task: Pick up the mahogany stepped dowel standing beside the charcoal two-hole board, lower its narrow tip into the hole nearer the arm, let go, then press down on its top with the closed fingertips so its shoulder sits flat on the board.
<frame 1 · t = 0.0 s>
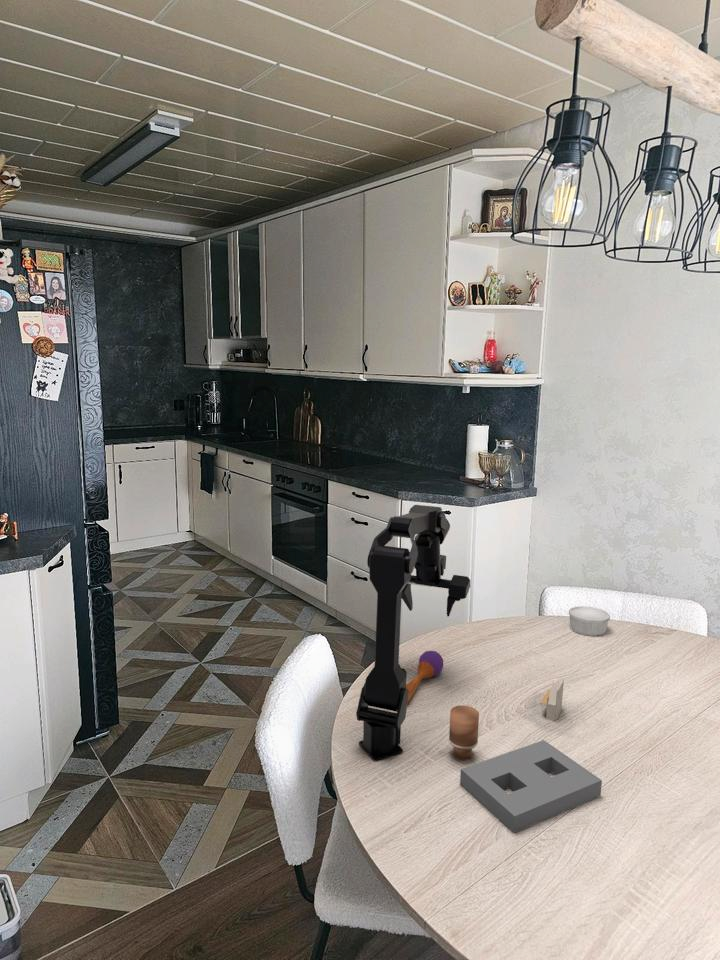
hand: (429, 612, 157), 15 cm above the table, tool pointing down, fingers open, 9 cm apart
ramekin: (587, 630, 188), on the table
mahogany dowel: (462, 754, 126), on the table
charcoal board: (529, 789, 116), on the table
architectural model: (553, 717, 142), on the table
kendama: (419, 687, 153), on the table
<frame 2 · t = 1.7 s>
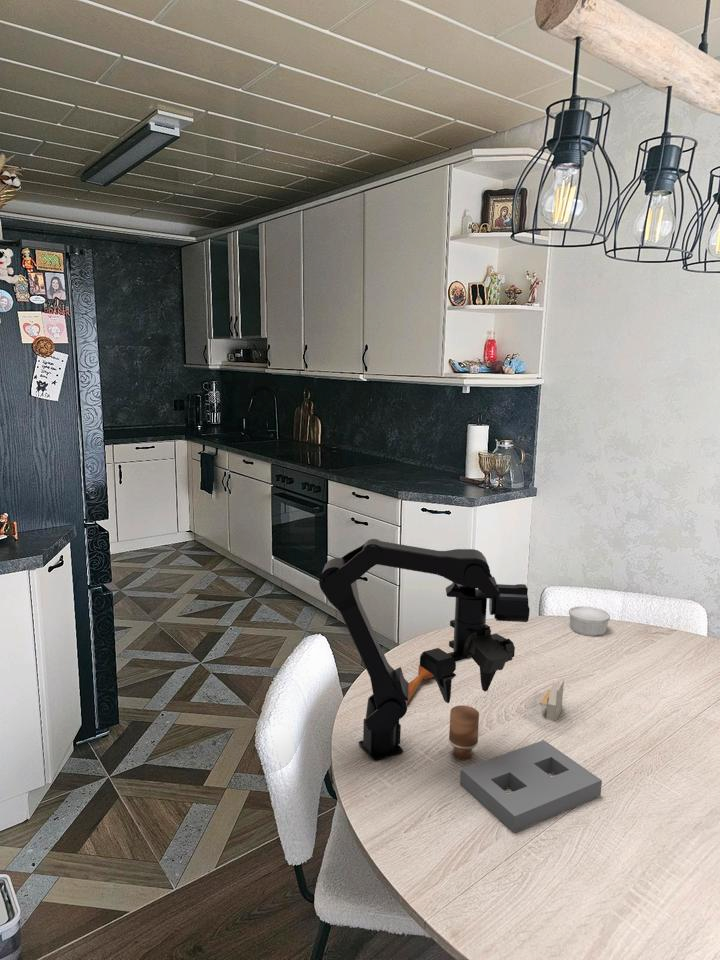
hand: (466, 696, 125), 12 cm above the table, tool pointing down, fingers open, 9 cm apart
nothing on the table moved.
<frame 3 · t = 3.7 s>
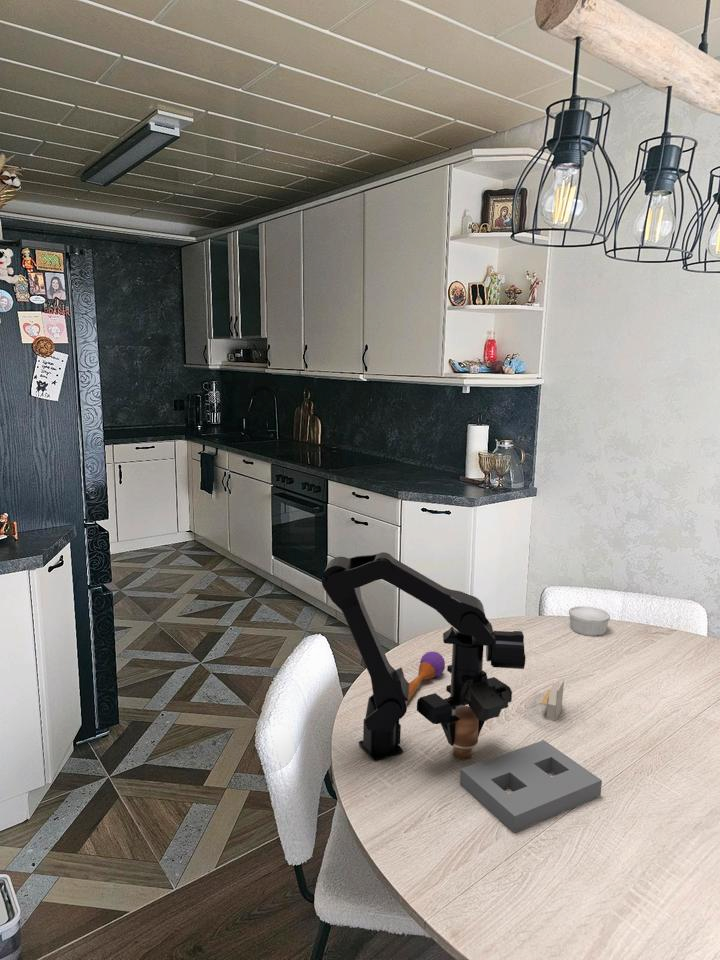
hand: (463, 740, 126), 3 cm above the table, tool pointing down, fingers closed on mahogany dowel, 5 cm apart
mahogany dowel: (462, 754, 126), on the table, touching gripper
everything else where it was.
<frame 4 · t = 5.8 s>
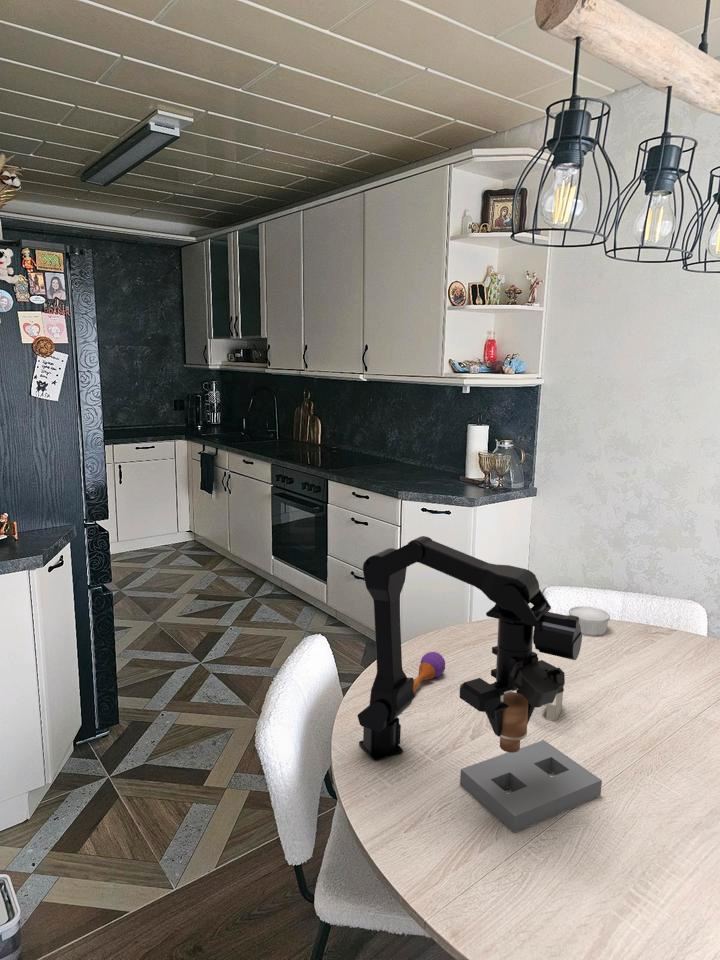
hand: (510, 730, 112), 12 cm above the table, tool pointing down, fingers closed on mahogany dowel, 5 cm apart
mahogany dowel: (509, 746, 113), point 9 cm above the table, touching gripper
everything else where it was.
when the fingers open (5 cm above the table, at t = 8.1 s): mahogany dowel drops 1 cm, resting on charcoal board.
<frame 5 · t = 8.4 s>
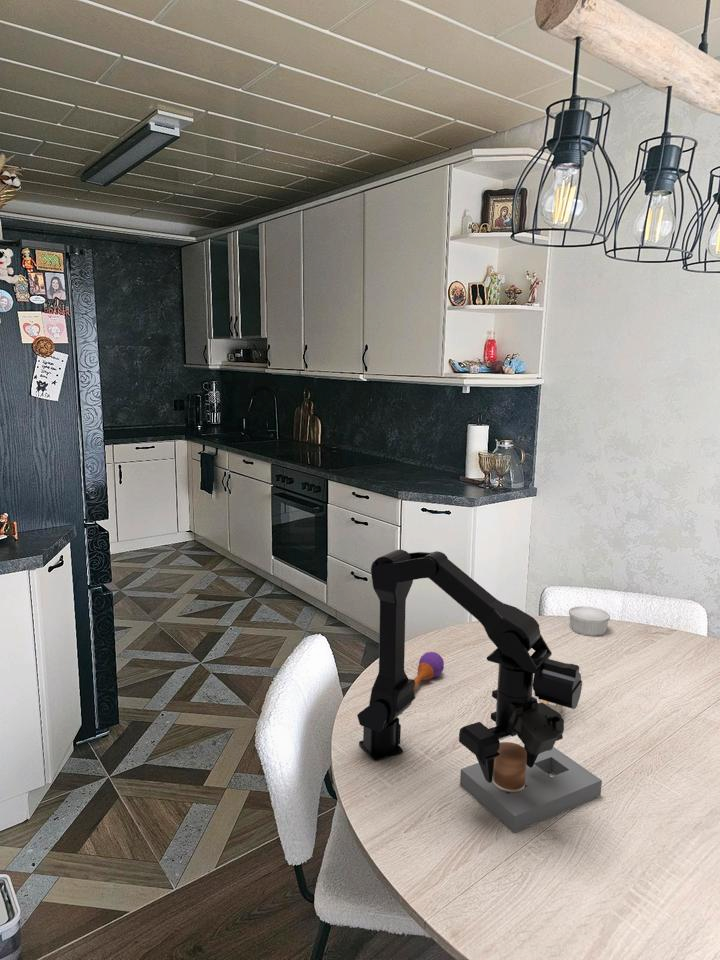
hand: (509, 773, 113), 5 cm above the table, tool pointing down, fingers open, 9 cm apart
mahogany dowel: (507, 797, 114), resting on charcoal board
everything else where it was.
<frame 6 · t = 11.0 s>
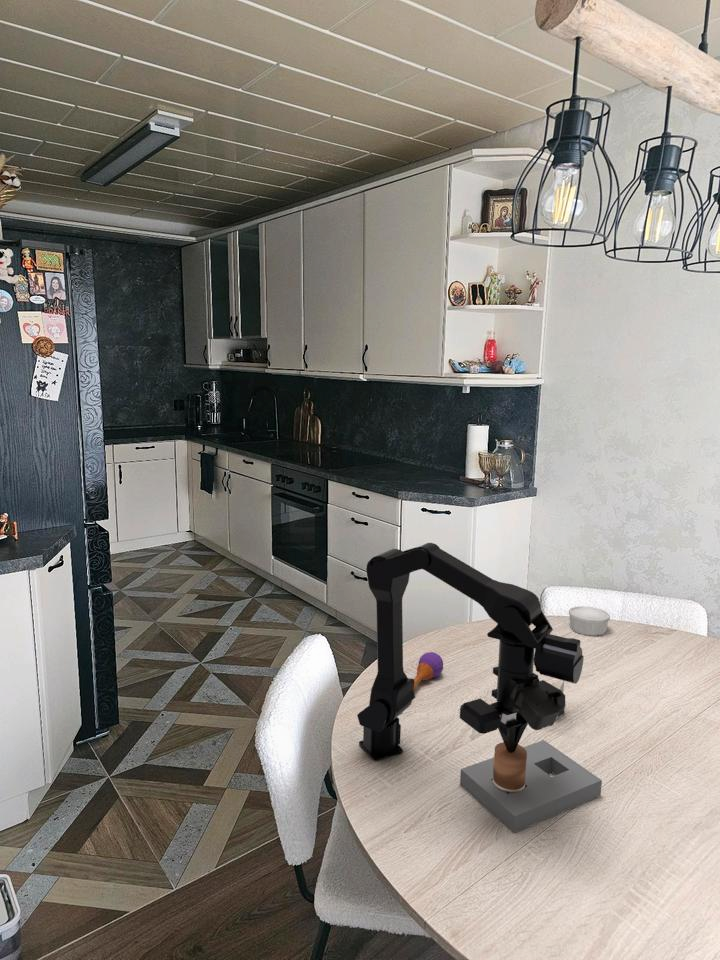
hand: (510, 751, 112), 9 cm above the table, tool pointing down, fingers closed, pressing on mahogany dowel
mahogany dowel: (507, 797, 114), resting on charcoal board, touching gripper
everything else where it was.
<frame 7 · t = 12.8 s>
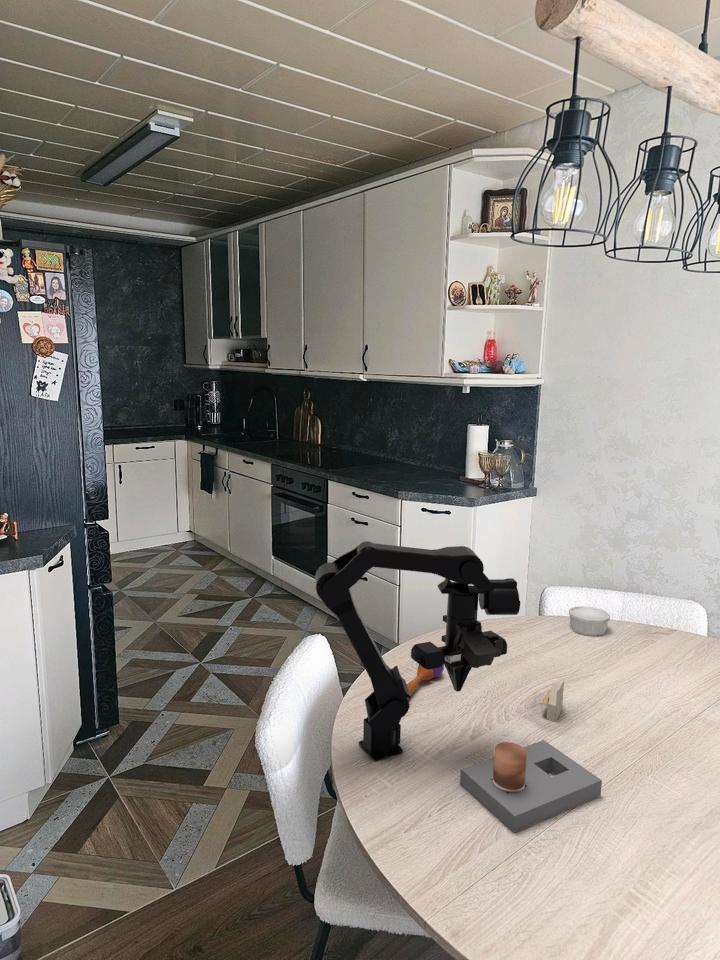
hand: (457, 690, 127), 12 cm above the table, tool pointing down, fingers closed
mahogany dowel: (507, 797, 114), resting on charcoal board
everything else where it was.
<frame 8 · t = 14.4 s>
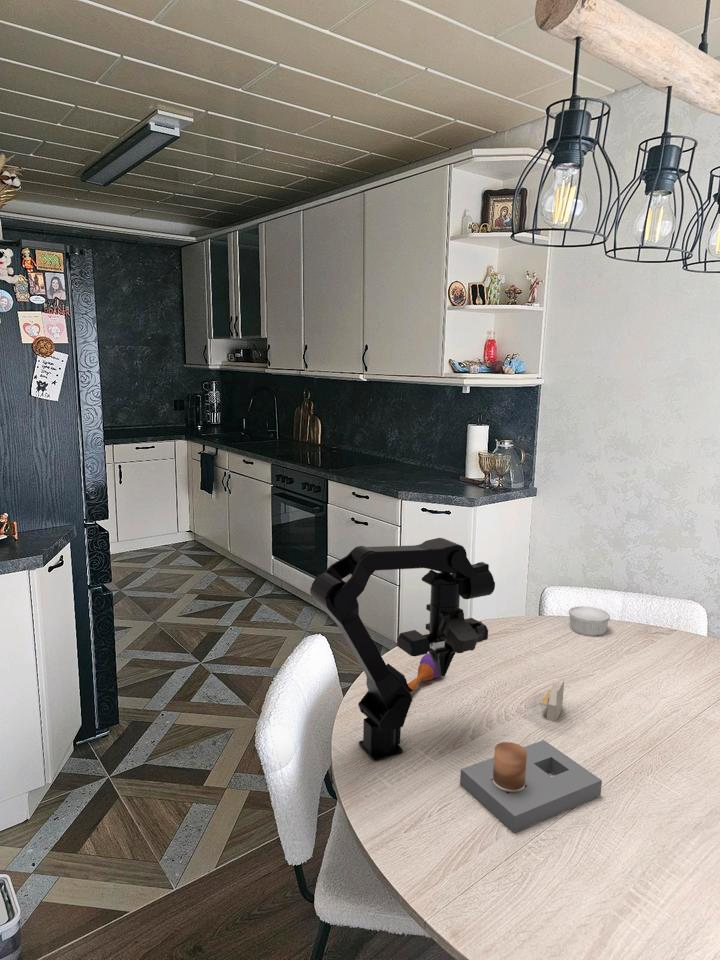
hand: (441, 676, 133), 12 cm above the table, tool pointing down, fingers closed
at the end: mahogany dowel 0.0 cm from the target spot on the charcoal board, point 0.2 cm above the charcoal board's base; mahogany dowel tilted 0°; the gripper is holding nothing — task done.
